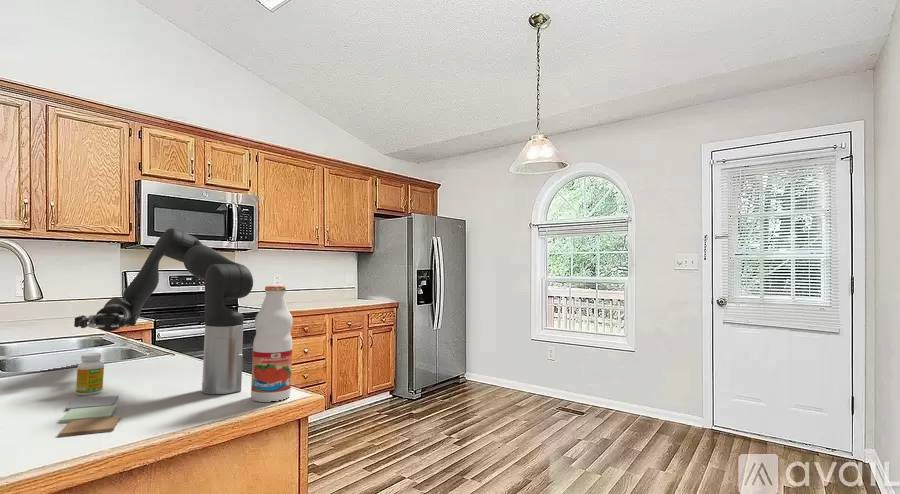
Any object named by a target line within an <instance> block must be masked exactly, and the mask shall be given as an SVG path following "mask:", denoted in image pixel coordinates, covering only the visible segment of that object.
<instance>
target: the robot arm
mask: <svg viewBox="0 0 900 494" xmlns="http://www.w3.org/2000/svg"><path fill="white" fill-rule="evenodd" d="M164 256H165V257H167V258H170V259H173V260H175V261H178V262H181V263H183V265H184V268H185V269H186V270H187V272H189V273H190V274H191V275H192V276H194V277H195V278H197V279H199V280H202V281H204V318H205V319H204V321H205V322H204V342H203V361H202V379H201V381H202V382H201V392H202V393H203V394H205V395H226V394H231V393H235V392H241V391H242V383H243V382H242V380H243V379H242V378H243V377H242V376H243V360H244V359H243V356H244V355H243V340H244V339H243V338H244V337H243V335H244V321H245V320H244V319H245V317H244V314H243V313H241V312H238V311H235V310H232V309H230V308H228V307H227V306H226V305H225V303H224V300H235V299H237V300H238V299H242V298H245V297H247V296H248V295H249V294H250V293H251V292H252V289H253V287H254V279H253V275H252V272H251V270H250V268H249V269H248V267H247V266H246V265H244V264H241V263H238V262H235V261H232V260H230V259H229V258H227V257H226V256H224V255H222V254H220V253H219V252H218V251H216V250H215V249H213V248H212V247H210V246H208V245H205V244H203V243H202V242H201V241H200V240H199V239H198V238H197V237H195V236H193V234H192V235H191V234H189V233H187V232H185V231H182V230H179V229H177V228H175V227H169V228H167V229H166V230H165V231H163V233H162V234H161V236H160V237H159V238H158V240H157V241H156V243H155V245H154V247H153V248H152V250H151V251H150V253H149V254H148V256H147V258H146V260H145V261H144V264H143V265H142V267H141V269H140V270H139V272H138V273H137V275H136V276H135V277H134V278H133V279H132V281H131V282H130V283H129V284H128V285H127V287H126V288H125V289H124V291H123V293H122V296H123V298H124V299H123V298H121V297H118V296H116V297H112V298H111V299H109V300H108V301H107V302H106V303H105V304H104V306H103V307H102V308H101V309H99V310H98V311H97V312H96V314H92V315H89V316H86V315H83V314H82V315H79V316H76V317H74V323H73V326H74V328H78V327H79V328H80V329H85V328H87V327H88V328H90V329H91V328H92V329H93V328H98V329H100V330H101V331H103V332H115V331H117V330H119V329H121V328H124V327H129V326H130V327H135V326H136V324H137V320H138V319H139V317H140V315H141V312H142V309H143V306H144V305H145V303H146V301H147V300H148V299H149V297H150V296H151V295H153V293H154V292H155V290H156V289H157V286H158V284H159V280H160V276H159V275H160V274H159V273H160V272H159V265H160V262H161V260H162V258H163V257H164Z"/></svg>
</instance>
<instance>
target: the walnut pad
mask: <svg viewBox="0 0 900 494" xmlns="http://www.w3.org/2000/svg"><path fill="white" fill-rule="evenodd" d="M120 420H121V415H115V416H113V415H112V416H111V417H102V418H92V419H81V420H71V421H70V422H67V424H66V425H65V426H64V427H63V428H62V429H61V430H60V432H59V433H58V437H59V438H62V437H70V436H79V435H80V436H81V435H87V434H98V433H107V432H114V431H115V428H116V427H117V425H118V423H119V422H120Z"/></svg>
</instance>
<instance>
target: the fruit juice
mask: <svg viewBox="0 0 900 494" xmlns="http://www.w3.org/2000/svg"><path fill="white" fill-rule="evenodd" d="M264 292H265V297H264V299H263V302H262V303H261V304H262V305H261V306H260V307H261V308H260V309H259V311H258V312H257V314H256V316H255V318H254V327H255V336H254V338H253V343H252V359H251V360H252V361H251V363H252V364H251V385H250V387H251V388H250V398H251V400H252V401H254V402H257V401H258V402H259V403H272V402H271V401H276V402H280V401H279V400H281V401H284V400H283V399H285V400H287V399H289V398H290V396H291V393H292V392H291V391H292V389H291V388H292V371H293V370H292V369H293V368H292V367H293V366H292V365H293V347H294V346H293V337H292V334H291V330H292V327H293V324H294V317H293V316H292V314H291V312H290V309H289V307H288V304H287V301H286V297H285V293H286V286H283V285H281V286H280V285H265V288H264ZM288 397H289V398H288ZM286 398H287V399H286Z"/></svg>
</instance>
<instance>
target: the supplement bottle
mask: <svg viewBox="0 0 900 494" xmlns="http://www.w3.org/2000/svg"><path fill="white" fill-rule="evenodd" d="M101 360H102V353H100V352H92V353H91V352H90V353H83V354H81V361H82V362H81V363H79V364H78V365H77V370H76V371H77V372H76V386H75V387H76V388H75V394H76V395H77V396H93V395H97V394H100V393H102V392H103V389H104V388H103V387H104V372H105V371H104V370H105V363H104V362H103V361H101Z"/></svg>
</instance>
